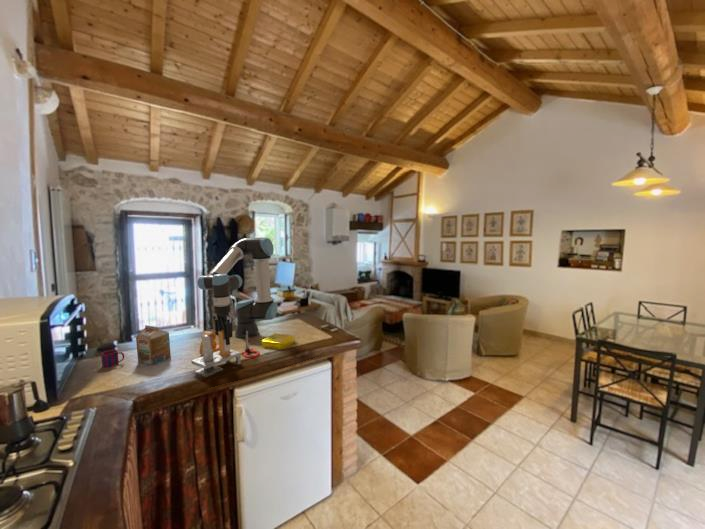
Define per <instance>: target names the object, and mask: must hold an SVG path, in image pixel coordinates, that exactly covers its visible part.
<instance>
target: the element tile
mask: <svg viewBox="0 0 705 529" xmlns="http://www.w3.org/2000/svg"><path fill="white" fill-rule="evenodd" d="M293 343H295V336H294V334H285V333H276V332H275V333H272V334H271V335H269V336H267V337H265V338H263V339H261V348H266V349H273V350H279V349H281V350H284V349H285V348H287V347H289V346H291V345H292V344H293Z"/></svg>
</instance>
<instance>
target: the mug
mask: <svg viewBox="0 0 705 529" xmlns="http://www.w3.org/2000/svg"><path fill="white" fill-rule="evenodd" d="M119 354H121V355H122V359H121V360H119ZM100 357H101V366H102V368H104V369H105V368H111V367H115V366H117V365H119V363H121V362H123V360H125V354H124V353H123V351H121V352H119V351H118V350H117V349H110V350H105V351H103V352H102V353H100Z"/></svg>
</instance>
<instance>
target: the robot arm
mask: <svg viewBox="0 0 705 529" xmlns="http://www.w3.org/2000/svg"><path fill="white" fill-rule="evenodd" d="M274 250H275V247H274V244H273V242H272V241H271V239H270V238H269V237H262V236H261V237H245V238H242V239H240V240H238V241H236V242H235V243H233V244H232V245H231V246H230V247H229V249H228V252H226V254H225V255H224V256H223V257H222V258H221V260H220V261H219V262H218V263H217V264H216V265H215V266H214V267H213V268H212V269H211V270H210V271H209V273H208V274H206V275H201V276H199V277H198V279H197V282H196V283H197V286H198V288H199V289H200V290H205V291H212V293H213V294H212V295H213V300H212V301H213V311H214V314H216V315H214V316H213V322H214V332H215V334H216V336H217V337H218V338H219V334H218V331H222V330H223V331H224V337H225V338H223V339H224V352H226V351H229V350H230V349H231V345H230V344H231V339H230V338H233V322H234V319H233V318H231V317H230V315H229V314H230V312H231V305H230V304H231V295H230V291H233V290H237V289H239V288H241V287H242V285H243V278H242V277H241V276H240V275H239V274H232V275H228V273H229V272H230V271H231V270H232V269H233V267H234V266H235V265H236V263H238V261H239V260H242V259H243V258H244V257H250V256H251V260H252V261H254V269H255V284H256V285H255V286H256V294H257V296H256V297H257V298H256V299H253V298H250V299H249V298H248V299H244V300H240V301H238V302H236V304H235V306H236V308H235V310H236V311H235V313H236V327H235V331H234V336H235V337H236V338H238V339H239V338H240V339H243V338H244V339H246V331H248V338H252V337H255V336H258V334H260V333H259V332H260V331H259V327H258V325H257V321H259V320H261V321H269V320H270V321H272V320H274V319H275V317H276V315H277V313H278V303H277V302H276V301H274V300H275V299H274V298H273V297H272V294H271V291H272V290H271V281H270V280H271V279H270V278H271V277H270V267H269V266H270V265H269V263H270V262H269V261H270V260H271V258H272V257H271V256H273V255H274ZM256 320H257V321H256Z"/></svg>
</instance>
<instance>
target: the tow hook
mask: <svg viewBox="0 0 705 529" xmlns="http://www.w3.org/2000/svg"><path fill="white" fill-rule="evenodd" d="M249 345H250V344H249V337H248V331H246V338H245V348H244V351H242V352H241V355H242V356H243V357H244V358H248V359H250V358H251V359H252V358H253V359H254V358H256V357H258V356H260V351H259V350H255V349H254V348H252V349H251V348H250V347H249ZM250 353H253V354H252V355H248V354H250Z"/></svg>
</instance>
